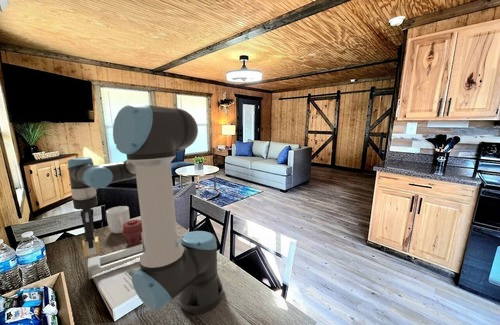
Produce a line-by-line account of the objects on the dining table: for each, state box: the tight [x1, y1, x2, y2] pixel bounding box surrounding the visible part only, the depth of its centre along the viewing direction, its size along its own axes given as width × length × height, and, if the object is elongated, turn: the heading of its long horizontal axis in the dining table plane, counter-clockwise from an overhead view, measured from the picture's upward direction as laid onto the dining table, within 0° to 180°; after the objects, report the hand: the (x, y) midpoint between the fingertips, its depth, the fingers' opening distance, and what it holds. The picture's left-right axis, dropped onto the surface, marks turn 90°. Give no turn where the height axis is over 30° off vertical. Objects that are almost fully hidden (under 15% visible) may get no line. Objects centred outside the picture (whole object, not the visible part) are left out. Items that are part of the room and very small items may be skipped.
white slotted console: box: [87, 243, 145, 280], centre depth 92 cm, size 9×21×4 cm, turn 127°
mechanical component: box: [121, 219, 143, 247], centre depth 106 cm, size 12×10×10 cm
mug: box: [105, 205, 131, 234], centre depth 118 cm, size 15×11×13 cm
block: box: [82, 236, 100, 258], centre depth 85 cm, size 5×5×5 cm
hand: (92, 250), depth 85 cm, fingers closed on block, 5 cm apart
